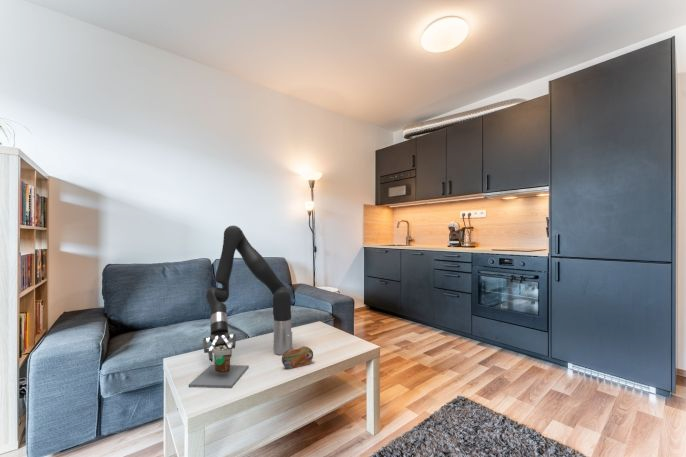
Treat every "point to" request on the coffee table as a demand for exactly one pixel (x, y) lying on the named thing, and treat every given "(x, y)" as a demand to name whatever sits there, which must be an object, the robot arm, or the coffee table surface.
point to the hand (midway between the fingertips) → (220, 359)
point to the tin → (297, 357)
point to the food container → (222, 358)
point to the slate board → (219, 377)
